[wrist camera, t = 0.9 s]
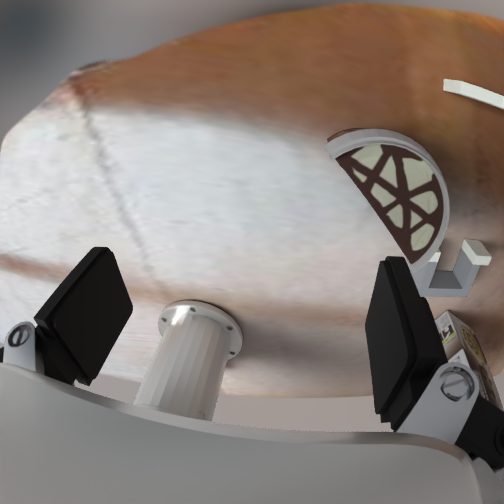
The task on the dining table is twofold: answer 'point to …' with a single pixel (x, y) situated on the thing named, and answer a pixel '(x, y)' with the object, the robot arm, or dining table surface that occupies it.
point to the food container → (397, 187)
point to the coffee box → (467, 353)
